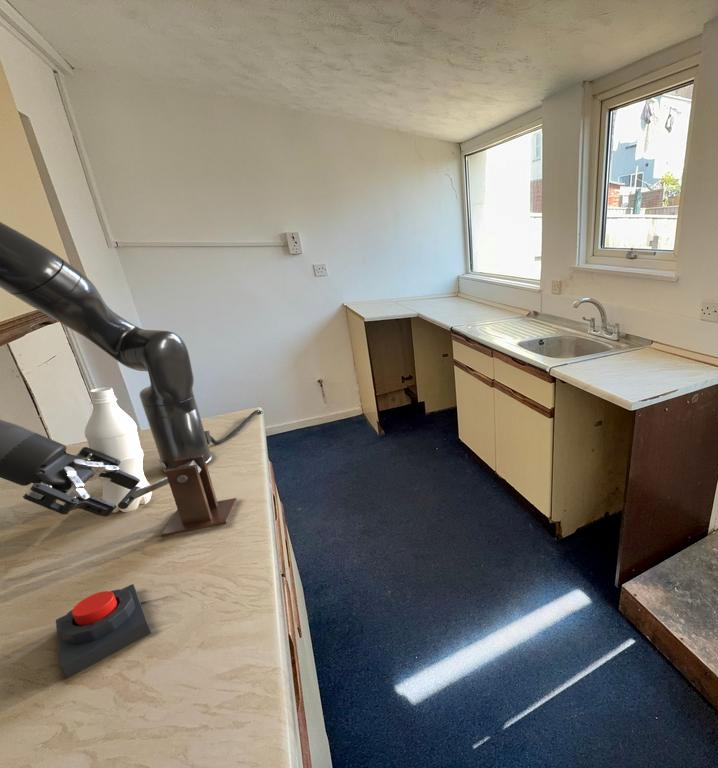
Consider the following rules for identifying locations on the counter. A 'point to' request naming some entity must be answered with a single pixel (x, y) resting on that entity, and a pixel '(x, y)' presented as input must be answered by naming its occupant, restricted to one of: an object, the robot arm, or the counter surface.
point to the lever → (147, 488)
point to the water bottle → (116, 445)
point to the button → (94, 608)
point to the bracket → (195, 498)
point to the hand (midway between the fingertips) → (125, 497)
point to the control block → (101, 633)
